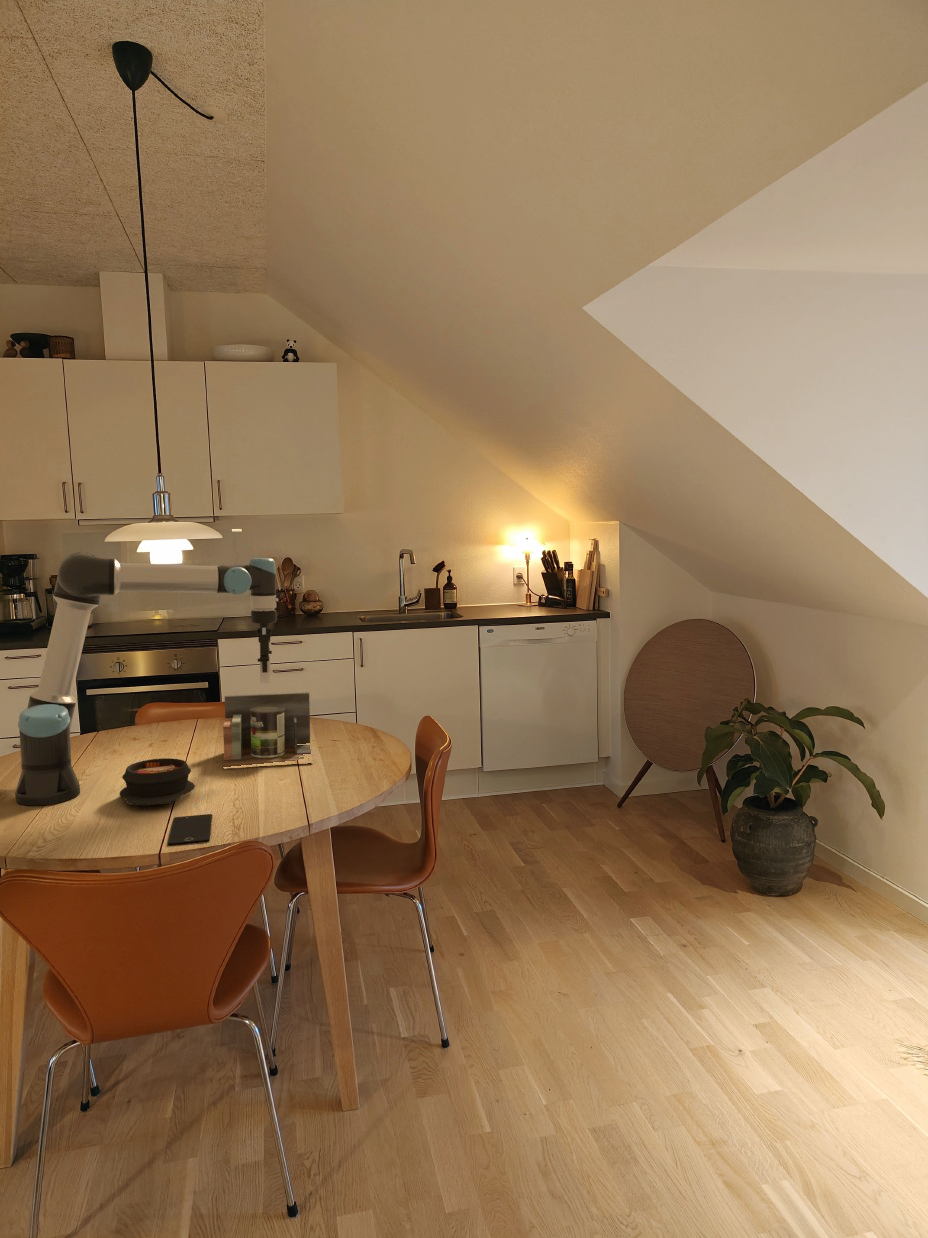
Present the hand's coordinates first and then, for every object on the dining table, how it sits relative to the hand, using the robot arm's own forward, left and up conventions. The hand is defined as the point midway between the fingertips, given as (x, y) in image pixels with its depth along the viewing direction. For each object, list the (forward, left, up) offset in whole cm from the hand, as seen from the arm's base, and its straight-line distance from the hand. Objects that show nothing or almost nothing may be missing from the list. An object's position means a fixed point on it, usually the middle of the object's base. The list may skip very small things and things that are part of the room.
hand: (265, 679), depth 250 cm
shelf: (+1, 0, -25) cm, 25 cm away
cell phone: (-59, +17, -25) cm, 66 cm away
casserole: (-31, +28, -25) cm, 49 cm away
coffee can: (0, 0, -23) cm, 23 cm away
